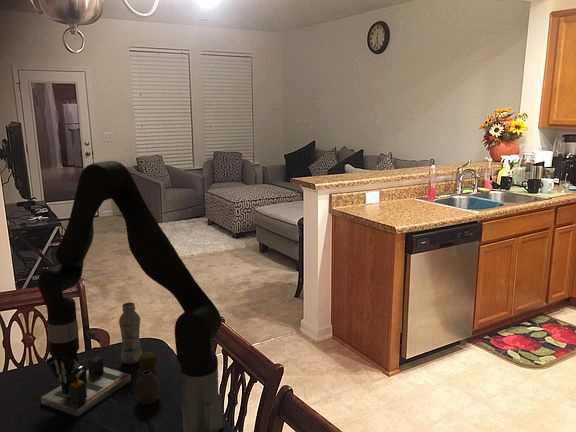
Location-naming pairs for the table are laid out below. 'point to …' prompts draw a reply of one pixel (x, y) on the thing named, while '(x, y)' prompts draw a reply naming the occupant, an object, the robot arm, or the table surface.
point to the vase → (147, 388)
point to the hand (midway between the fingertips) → (67, 392)
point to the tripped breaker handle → (77, 391)
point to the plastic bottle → (130, 334)
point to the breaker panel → (89, 388)
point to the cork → (148, 363)
